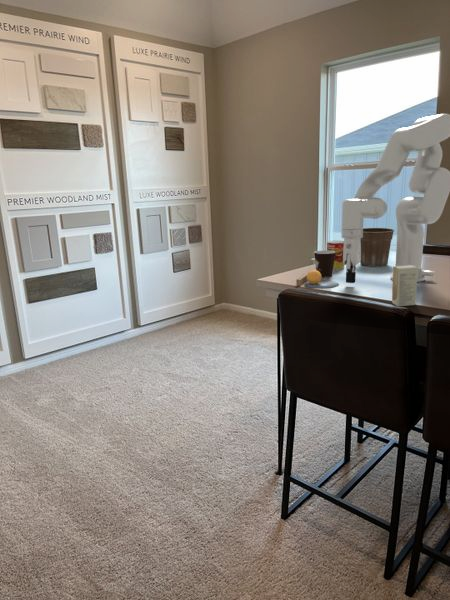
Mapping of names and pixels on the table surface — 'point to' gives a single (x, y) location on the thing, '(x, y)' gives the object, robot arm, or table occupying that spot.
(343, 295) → the table surface
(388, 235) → the plant pot
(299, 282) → the stopper rail
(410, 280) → the skincare box
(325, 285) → the disc
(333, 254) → the coffee mug
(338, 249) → the canned food
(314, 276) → the ball
